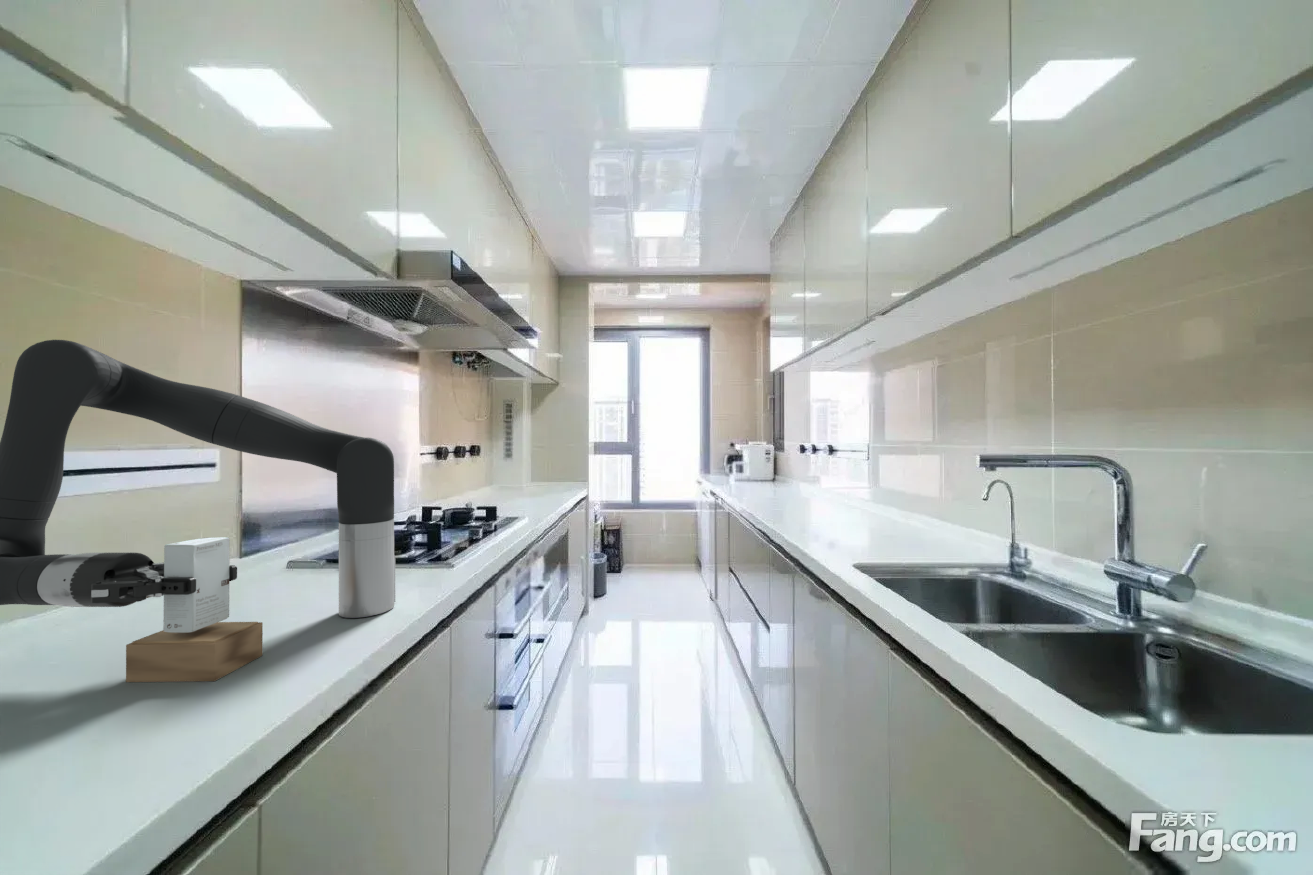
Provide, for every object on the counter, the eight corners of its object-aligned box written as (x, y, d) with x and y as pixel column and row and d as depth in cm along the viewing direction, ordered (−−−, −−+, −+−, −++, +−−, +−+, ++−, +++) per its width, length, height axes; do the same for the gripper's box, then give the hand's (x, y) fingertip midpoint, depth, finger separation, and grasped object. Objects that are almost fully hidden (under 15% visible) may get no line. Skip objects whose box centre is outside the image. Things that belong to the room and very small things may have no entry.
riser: (183, 656, 74) (183, 621, 74) (262, 655, 74) (262, 620, 74) (126, 682, 66) (126, 642, 66) (214, 681, 66) (214, 642, 66)
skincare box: (193, 633, 67) (194, 544, 67) (160, 633, 67) (161, 544, 67) (231, 617, 73) (232, 536, 73) (201, 617, 73) (202, 536, 73)
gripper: (35, 565, 63) (165, 565, 63) (151, 543, 77) (256, 542, 77) (34, 624, 63) (164, 623, 63) (150, 590, 77) (256, 590, 77)
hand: (215, 579), depth 70 cm, fingers closed on skincare box, 6 cm apart
